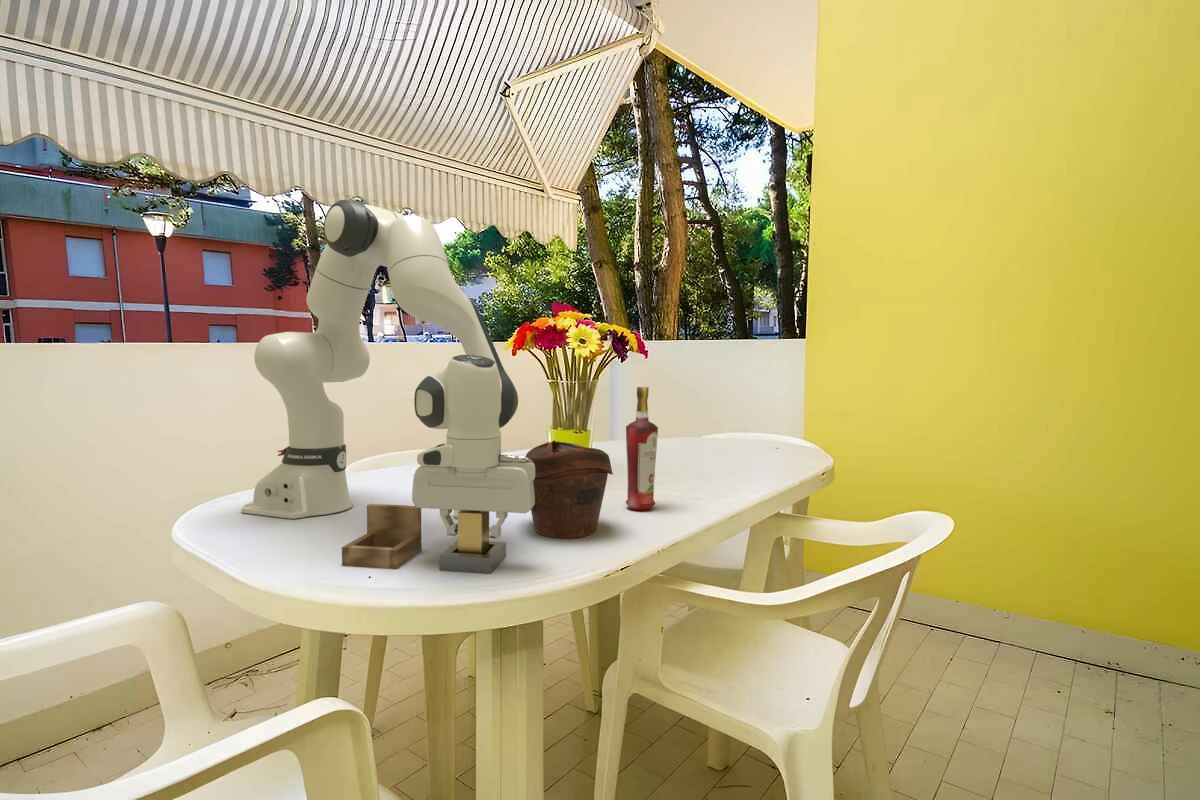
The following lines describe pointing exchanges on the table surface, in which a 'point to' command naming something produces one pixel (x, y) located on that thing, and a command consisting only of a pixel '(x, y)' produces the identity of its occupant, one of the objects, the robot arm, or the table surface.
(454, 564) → the socket block
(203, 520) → the table surface
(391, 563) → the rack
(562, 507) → the case
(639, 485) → the liquor
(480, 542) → the brass peg block
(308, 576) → the table surface
